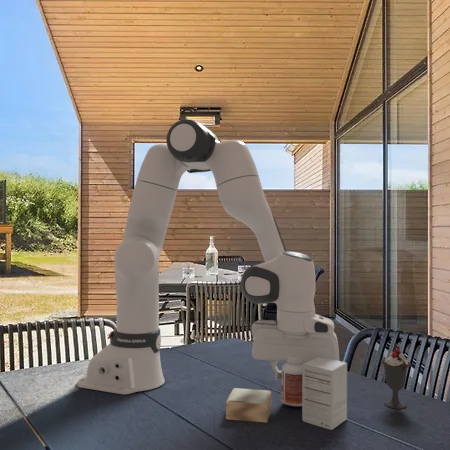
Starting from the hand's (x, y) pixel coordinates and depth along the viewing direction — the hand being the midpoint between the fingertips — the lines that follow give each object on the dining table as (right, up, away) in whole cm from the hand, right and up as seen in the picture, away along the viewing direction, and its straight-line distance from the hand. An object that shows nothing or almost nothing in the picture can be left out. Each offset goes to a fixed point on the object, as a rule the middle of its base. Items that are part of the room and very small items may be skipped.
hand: (294, 380), depth 116 cm
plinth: (-11, -6, -5) cm, 13 cm away
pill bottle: (0, -5, 0) cm, 5 cm away
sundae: (+24, -6, +1) cm, 25 cm away
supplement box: (+5, -6, -9) cm, 12 cm away
